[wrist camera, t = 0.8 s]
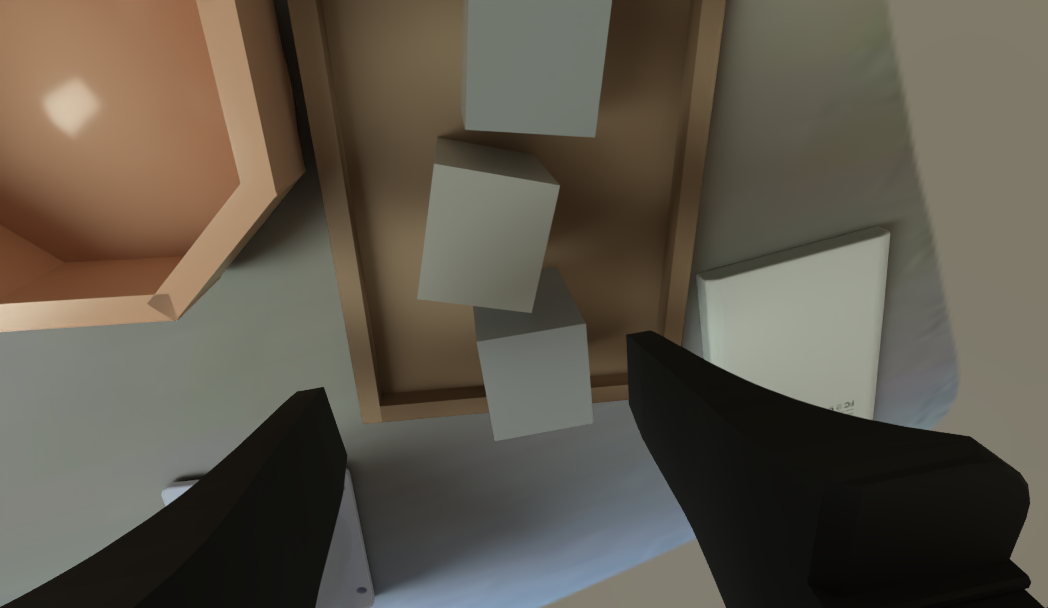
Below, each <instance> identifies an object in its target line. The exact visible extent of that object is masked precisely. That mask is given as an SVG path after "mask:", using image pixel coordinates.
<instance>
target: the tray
mask: <svg viewBox="0 0 1048 608" xmlns="http://www.w3.org/2000/svg"><path fill="white" fill-rule="evenodd" d="M287 2H288V8H289V14H290V19H291V25H292V30H293V36H294V42H295V47H296V53H297V58H298V64H299V70H300V75H301V81H302V87H303V92H304V98H305V103H306V109H307V115H308V120H309V126H310V131H311V137H312V143H313V148H314V154H315V159H316V165H317V171H318V176H319V182H320V187H321V193H322V199H323V204H324V210H325V215H326V221H327V227H328V232H329V238H330V243H331V249H332V255H333V260H334V266H335V271H336V277H337V283H338V288H339V294H340V300H341V305H342V311H343V316H344V322H345V328H346V333H347V339H348V344H349V350H350V356H351V361H352V367H353V372H354V378H355V384H356V389H357V395H358V400H359V406H360V412H361V417H362V423H363V424H368V423H379V422H390V421H401V420H412V419H423V418H434V417H444V416H455V415H466V414H477V413H488V412H489V407H488V402H487V396H486V391H485V385H484V380H483V374H482V369H481V363H480V358H479V352H478V347H477V341H476V331H475V322H474V312H473V306H470V305H462V304H453V303H445V302H437V301H429V300H420V299H417V296H418V287H419V279H420V270H421V262H422V253H423V245H424V237H425V229H426V221H427V213H428V205H429V197H430V189H431V181H432V173H433V165H434V157H435V149H436V141H437V137H440V138H445V139H451V140H456V141H462V142H467V143H473V144H478V145H484V146H489V147H495V148H500V149H505V150H511V151H516V152H522V153H527V154H533V155H534V156H535V157H536V158H537V159H538V160H539V161H540V163H541V164H542V165H543V166H544V167H545V168H546V170H547V171H548V172H549V173H550V174H551V175H552V177H553V178H554V179H555V180H556V181H557V182H558V184H559V185H560V188H559V193H558V197H557V202H556V206H555V211H554V215H553V220H552V224H551V229H550V233H549V238H548V242H547V247H546V251H545V255H544V260H543V264H542V269H545V268H551V267H557V268H558V270H559V272H560V274H561V276H562V278H563V280H564V282H565V284H566V286H567V288H568V290H569V292H570V294H571V296H572V297H573V299H574V301H575V303H576V305H577V307H578V309H579V311H580V313H581V315H582V317H583V319H584V321H585V323H586V331H587V344H588V358H589V371H590V384H591V398H592V403H598V402H609V401H620V400H629V394H628V369H627V344H626V334H632V333H638V332H644V331H649V330H651V331H653V332H655V333H657V334H659V335H661V336H663V337H665V338H667V339H668V340H670V341H672V342H674V343H676V344H677V345H679V346H681V342H682V334H683V326H684V319H685V311H686V303H687V296H688V288H689V280H690V273H691V265H692V257H693V250H694V242H695V234H696V227H697V219H698V212H699V204H700V196H701V189H702V181H703V173H704V166H705V158H706V150H707V143H708V135H709V127H710V120H711V112H712V104H713V97H714V89H715V82H716V74H717V66H718V59H719V51H720V43H721V36H722V28H723V20H724V13H725V5H726V0H612V5H611V13H610V21H609V29H608V37H607V45H606V53H605V61H604V69H603V77H602V85H601V93H600V101H599V109H598V117H597V125H596V134H595V137H578V136H562V135H545V134H528V133H511V132H495V131H478V130H465V127H464V123H463V118H462V114H461V72H462V26H463V0H287Z"/></svg>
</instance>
